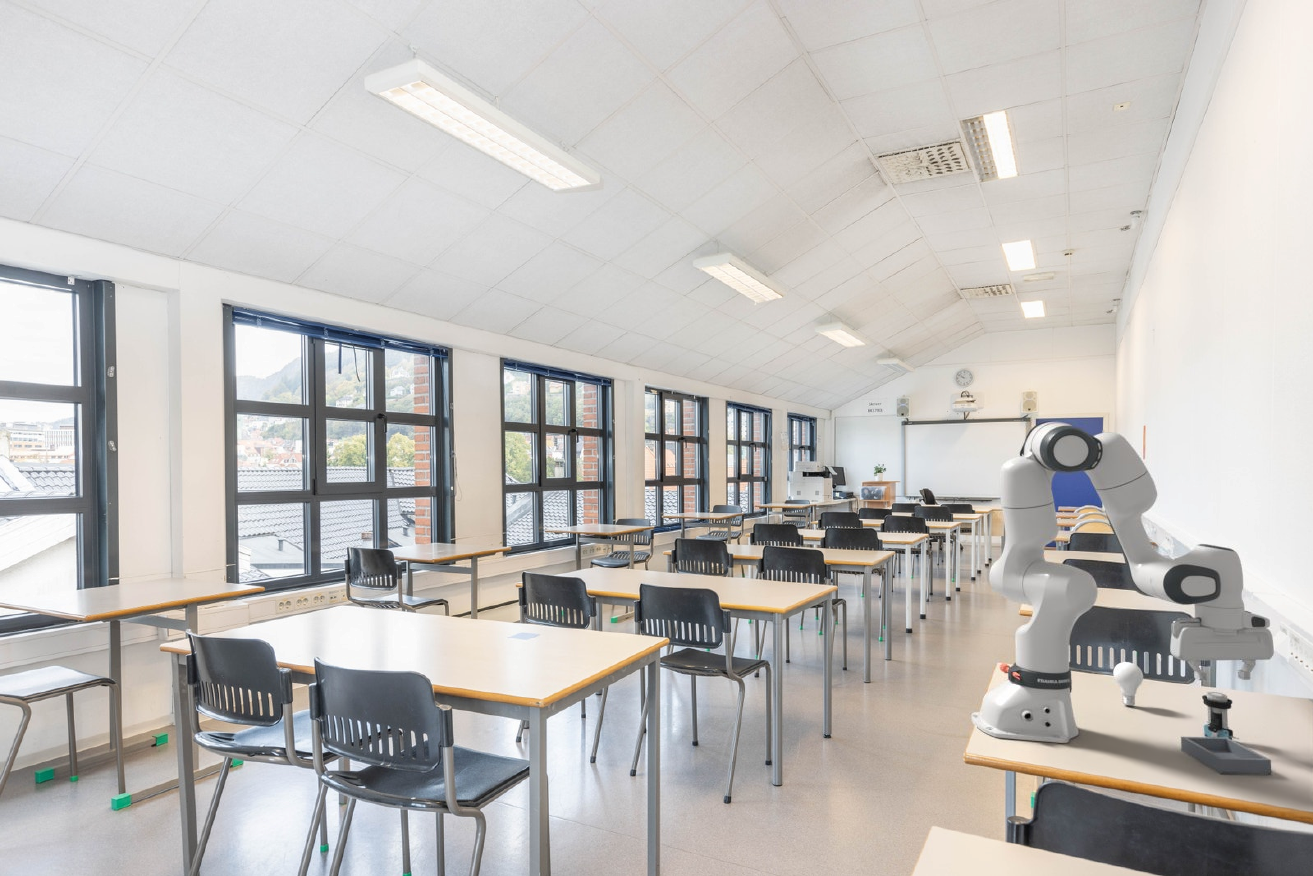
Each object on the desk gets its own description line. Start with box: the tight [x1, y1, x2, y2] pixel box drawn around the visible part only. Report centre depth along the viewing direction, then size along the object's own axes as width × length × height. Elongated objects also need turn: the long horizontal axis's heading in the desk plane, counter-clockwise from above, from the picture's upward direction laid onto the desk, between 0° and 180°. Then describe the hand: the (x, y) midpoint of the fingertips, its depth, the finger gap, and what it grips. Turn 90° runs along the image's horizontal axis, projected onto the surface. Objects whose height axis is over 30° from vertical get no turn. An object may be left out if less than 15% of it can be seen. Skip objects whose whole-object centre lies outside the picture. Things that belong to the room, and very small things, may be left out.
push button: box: [1201, 691, 1240, 744], centre depth 159 cm, size 7×5×10 cm
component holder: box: [1180, 736, 1272, 776], centre depth 148 cm, size 10×12×3 cm
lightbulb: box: [1112, 661, 1144, 708], centre depth 182 cm, size 6×6×11 cm
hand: (1222, 679), depth 160 cm, fingers open, 8 cm apart
